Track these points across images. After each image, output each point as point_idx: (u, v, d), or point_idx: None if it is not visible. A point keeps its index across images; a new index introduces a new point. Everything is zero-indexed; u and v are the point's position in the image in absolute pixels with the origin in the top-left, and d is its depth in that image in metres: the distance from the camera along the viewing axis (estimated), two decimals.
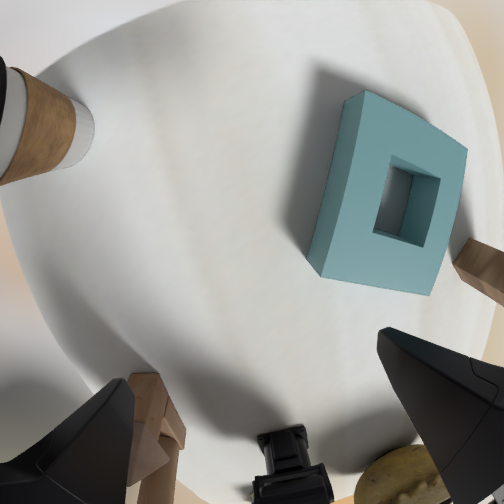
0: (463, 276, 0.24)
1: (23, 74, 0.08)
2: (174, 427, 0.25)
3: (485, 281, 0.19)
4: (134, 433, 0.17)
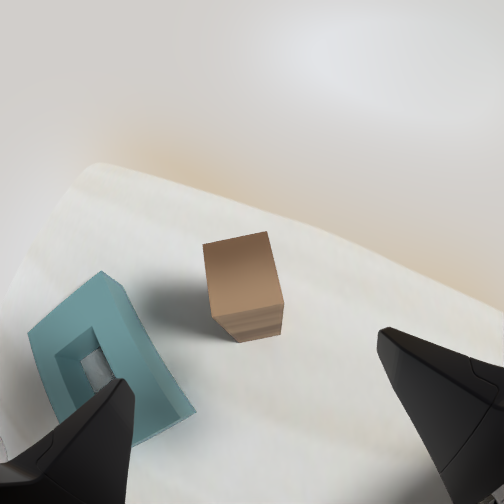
0: (261, 336, 0.21)
1: None
2: None
3: (226, 330, 0.17)
4: None
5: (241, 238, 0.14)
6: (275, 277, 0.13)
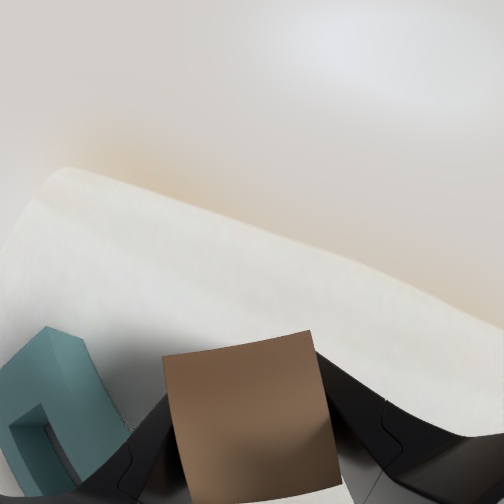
0: None
1: None
2: None
3: None
4: None
5: (250, 348, 0.06)
6: (328, 438, 0.05)
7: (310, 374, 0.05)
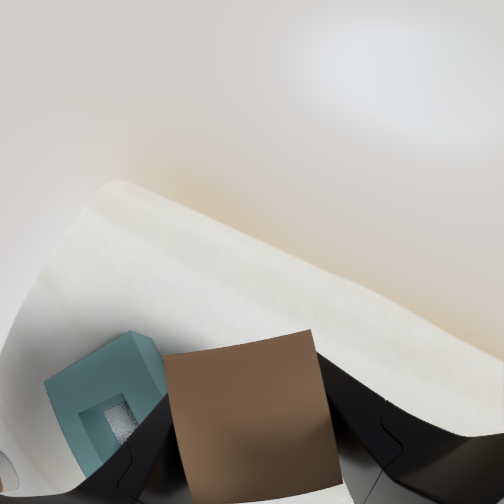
0: None
1: None
2: None
3: None
4: None
5: (250, 347, 0.06)
6: (329, 437, 0.05)
7: (310, 373, 0.05)
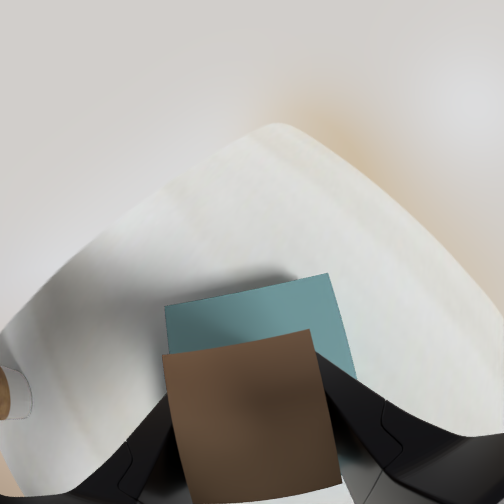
0: None
1: None
2: None
3: None
4: None
5: (250, 347, 0.06)
6: (328, 437, 0.05)
7: (310, 373, 0.05)
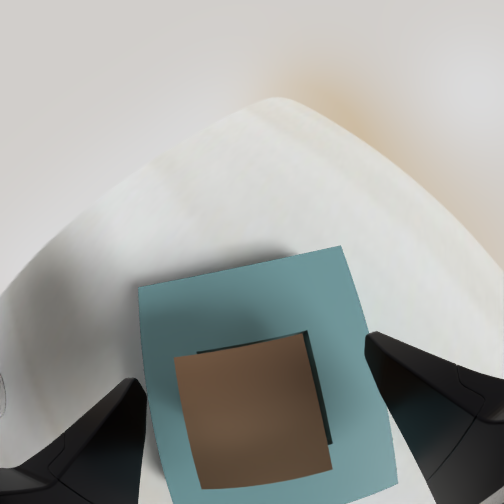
0: None
1: None
2: None
3: None
4: None
5: (250, 349, 0.07)
6: (319, 427, 0.06)
7: (302, 372, 0.06)
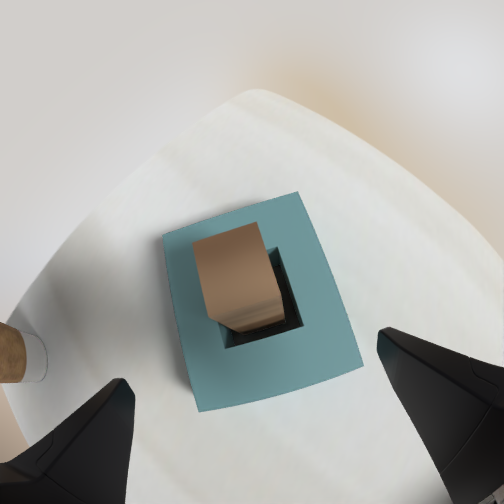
0: (265, 327, 0.20)
1: None
2: None
3: (228, 325, 0.16)
4: None
5: (231, 231, 0.14)
6: (269, 268, 0.13)
7: (258, 239, 0.13)
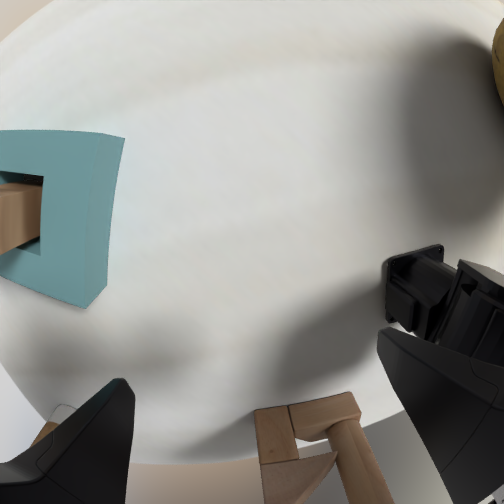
0: None
1: None
2: (322, 417, 0.22)
3: (15, 246, 0.12)
4: (262, 479, 0.17)
5: None
6: None
7: None
